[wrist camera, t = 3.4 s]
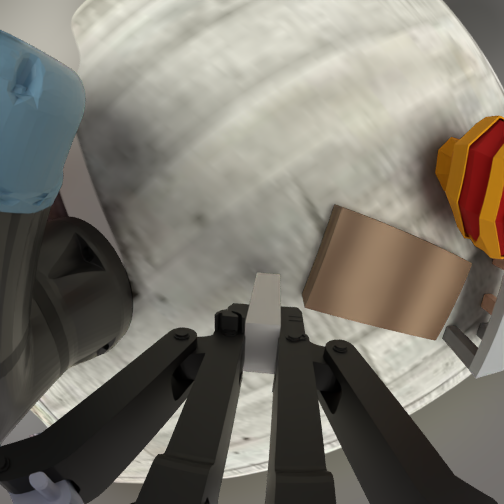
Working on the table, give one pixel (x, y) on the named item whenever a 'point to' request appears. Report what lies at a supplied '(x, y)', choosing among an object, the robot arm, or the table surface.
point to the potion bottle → (476, 183)
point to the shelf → (483, 337)
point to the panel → (383, 276)
